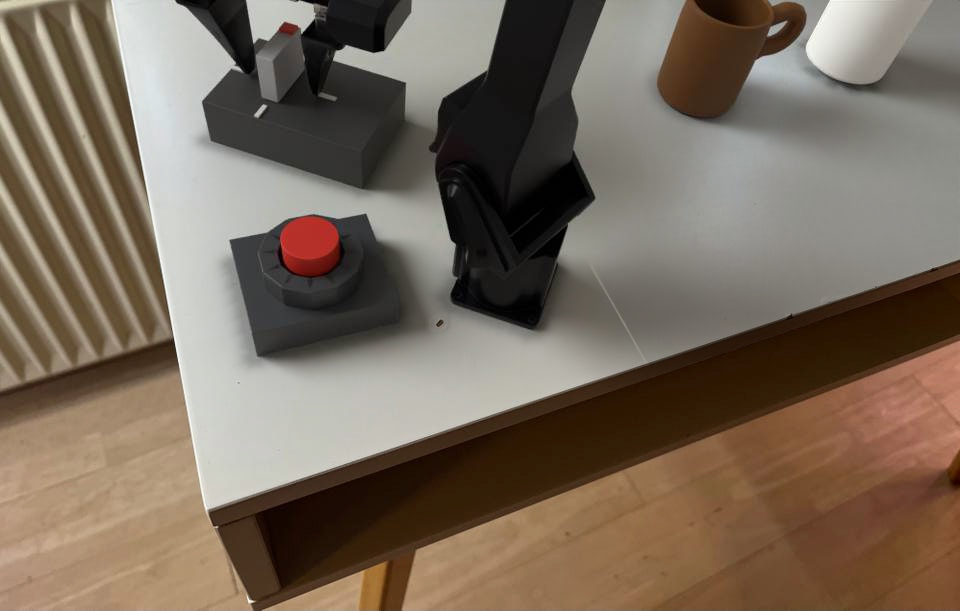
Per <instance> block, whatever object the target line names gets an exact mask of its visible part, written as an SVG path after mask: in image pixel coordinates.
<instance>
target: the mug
mask: <svg viewBox="0 0 960 611" xmlns="http://www.w3.org/2000/svg"><path fill="white" fill-rule="evenodd" d="M807 18H808V13H807V11H806V9H805V6H804V5H802V4H800V3H798V2H795V1H782V2H779V3H777V4H774V5H772V4H771V2H770V1H769V0H685V2H684V3H683V6H682V8H681V11H680V12H679V15H678V19H677V22H676V24H675V27H674V30H673V32H672V35H671V38H670V40H669V43H668V46H667V49H666V52H665V54H664V58H663V60H662V63H661V65H660V68H659V72H658V74H657V79H656V80H657V81H656V85H657V90H658V93H659V95H660V96H661V98H662V99H663V100H664V101H665V102H666V104H668V105H669V106H671V107H672V108H673V109H675V110H676V111H679V112H680V113H683V114H685V115H688V116H691V117H696V118H714V117H719V116H721V115H723V114H726V113H727V112H728V111H729V110H730V109H731V108H732V107H733V105H735V103H736V102H737V99H738V97H739V95H740V93H741V91H742V89H743V87H744V85H745V83H746V81H747V79H748V77H749V75H750V73H751V71H752V69H753V67H754V64H755V63H756V61H757V60H759V59H761V58H762V57H767V56H771V55H772V56H773V55H776V54H778V53H781V52H782V51H784V50H786V49H787V48H788V47H790V46H791V45H792V44H793V43H794V42H796V40H797V39H798V38H800V36H801V34H802V33H803V31H804V29H805V27H806V25H807V21H808V20H807ZM782 23H784V25H783V26H782V27H781V28H780V29H779V30H778V31H777V32H775V33H774V34H771V35H769V32H770V29H771V28H773V27H774V26H777V25H779V24H782Z"/></svg>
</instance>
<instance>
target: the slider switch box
mask: <svg viewBox="0 0 960 611" xmlns="http://www.w3.org/2000/svg"><path fill="white" fill-rule="evenodd" d="M268 41H269V40H267V39H264V38H261V37H259V38H257V39H256V41H255V42H253V44H254V50H255V69H254V70H253V72H252V73H251V74H250V75H247V74H245V73H244V72H243V71H242V70H241V69H240V68H239V66H238V65H237V64H236V63H234V64H233V65H232V66H231V68H230V70H228V71H227V72H226V73H225V75H224V76H223V77H222V78H221V79H220V80H219V81H218V82H217V84H216V85H215V86H214V87H213V88H212V89H211V91H209V93H207V95H206V96H205V97H204V98H203V99H202V100H201V104H202V109H203V113H204V117H205V122H206V126H207V127H206V128H207V131H208V135H209V139H210V141H211V142H213V143H215V144H219V145H222V146H225V147H229V148H231V149H234V150H236V151H241V152H244V153H247V154H251V155H254V156H256V157H260V158H263V159H266V160H270V161H272V162H276V163H278V164H281V165H285V166H287V167H288V166H289V167H290V168H294V169H297V170H300V171H303V172H306V173H310V174H313V175H316V176H319V177H323V178H326V179H329V180H331V181H335V182H338V183H342V184H344V185H348V186H351V187H354V188H357V189H360V190H363V189H364V188H365V186H366V185H367V183H368V182H369V180H370V178H371V176H372V175H373V174H374V172H375V170H376V168H377V167H378V165H379V163H380V162H381V160H382V158H383V157H384V155H385V154H386V152H387V151H388V149H389V147H390V146H391V144H392V142H393V141H394V139H395V137H397V134H398V133H399V131H400V130H401V128H402V126H403V124H404V123H405V121H406V120H405V119H406V100H407V99H406V98H407V97H406V96H407V95H406V94H407V82H406V81H402V80H400V79H396V78H392V77H389V76H386V75H382V74H379V73H376V72H373V71H369V70H367V69H363V68H360V67H356V66H353V65H349V64H346V63H343V62H340V61H338V60H337V61H336V60H333V61H332V64H331V67H330V70H329V73H328V76H327V78H326V81H325V84H324V87H323V89H322V91H321V92H320V93H319V95H318V96H317V95H313V93H312V91H311V88H310V85H309V82H308V77H307V71H306V65H305V60H304V68H305V69H304V71H303V72H302V73H301V75H300V76H299V77H298V78H297V80H296V81H295V82H294V83H293V85H292V86H291V87H290V89H289V90H288V91H287V92H286V94H285V95H284V96H283V97H282V99H281V100H280V101H279V102H278V103H277V102H274V101H271V100H268V99H264V98H262V95H261V88H260V81H259V75H258V68H257V61H256V55H257V54H258V52H259V51H260V50H261V49H262V48H263V47H264V46H265V44H266V43H267V42H268ZM303 57H304V54H303Z"/></svg>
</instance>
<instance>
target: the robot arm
mask: <svg viewBox="0 0 960 611" xmlns="http://www.w3.org/2000/svg"><path fill="white" fill-rule="evenodd" d="M174 1H175V3H176V4H177V5H179V6H182V7H184V8H186V9H187V10H188V11H189V12H190V14H191V15H193V16H194V18H195V19H197V21H199V23H200V24H201V25H202V26H203V27H204V28H205V29H206V30H207V31H208V32H209V33H210V34H211V35H212V37H213V38H214V39H215V40H216V41H217V43H218V44H220V46H221V47H222V49H223V50H224V51H225V53H227V54H228V56H229V57H230V58H231V60H232V61H234V64H237V65H238V66H239V68H240V69H241V70H242V71H243V72H244V73H245V74H247V75H250V74H251V73H252V72H253V70H254V69H255V50H254V39H253V32H252V27H251V26H252V25H251V21H250V14H249V9H248V8H249V7H248V2H247V0H174ZM288 1H289V2H294V3H297V2H302V3H307V4H310V5H312V6H313V13H314V18H313V20H312V21H311V22H310V23H309V24H308V25H307V27H306V28H305V29H304V31H302V32H301V35H300V38H301V44H302V49H303V54H304V60H305V65H306V71H307V77H308V82H309V85H310V88H311V91H312V93H313V95H317V96H318V95H319V93H320V92H321V91H322V89H323V87H324V84H325V81H326V78H327V76H328V73H329V70H330V67H331V64H332V61H334V58H335V56H336V53H337V52H338V51H342V50H343V49H345V47H351V48H355V49H357V50H362V51H365V52H368V53H371V54H376V53H381V52H385V51H386V50H387V49H388V47H389V45H391V42H392V41H393V40H394V39H395V37H396V35H397V34H398V33H399V31H400V29H401V28H402V27H403V25H404V23H406V21H407V19H408V18H409V16H410V15H411V13H412V9H413V8H412V5H413V0H288ZM606 2H607V0H504V5H503V9H502V12H501V16H500V20H499V25H498V28H497V32H496V36H495V39H494V44H493V48H492V51H491V55H490V60H489V63H488V66H487V70H485V71H483V72H482V73H480V74H479V75H477V76H475V77H473V78H472V79H470V80H469V81H468V82H466V83H464V84H463V85H461V86H460V87H457V89H455V90H453V91H452V92H450V93H448V94H447V95H445V96H444V97H442V99H441V102H440V104H439V107H438V110H437V127H436V134H435V137H434V140H433V142H431V144H430V145H428V147H427V148H428V151H429V152H430V153H433V154H436V156H435V159H434V176H435V181H436V182H437V184H438V190H439V195H440V196H439V197H440V199H441V204H442V209H443V214H444V217H445V218H444V219H445V223H446V227H447V232H448V235H449V239H450V241H451V243H453V244H455V247H454V255H453V260H452V268H451V274H452V276H453V277H454V278H456V280H455V283H454V285H453V287H452V289H451V290H450V294H449V301H450V302H451V303H452V304H454V305H456V306H458V307H462V308H464V309H469V310H471V311H474V312H478V313H479V314H480V313H481V314H483V315H487V316H489V317H492V318H496V319H498V320H501V321H505V322H508V323H510V324H513V325H517V326H520V327H522V328H524V329H525V328H526V329H528V330H535V329H537V328H538V326H539V323H540V321H541V317H542V316H543V312H544V308H545V306H546V303H547V300H548V297H549V294H550V292H551V288H552V285H553V282H554V279H555V276H556V273H557V271H558V268H559V262H558V261H559V257H560V254H561V250H562V247H563V244H564V242H565V238H566V235H567V232H568V228H569V224H570V223H571V222H572V221H573V220H574V219H576V217H579V216H580V215H581V214H582V213H584V212H585V210H586V209H588V208H589V207H590V206H591V205H592V204H593V203H594V202H595V200H596V194H595V191H594V190H593V188H592V186H591V184H590V182H589V179H588V178H587V175H586V173H585V170H584V169H583V167H582V165H581V162H580V160H579V159H578V156H577V154H576V152H575V149H574V148H575V142H576V137H577V132H578V127H579V116H578V113H577V109H576V105H575V101H574V98H573V95H572V94H573V87H574V84H575V82H576V79H577V77H578V74H579V71H580V69H581V66H582V63H583V61H584V58H585V56H586V53H587V51H588V48H589V46H590V43H591V40H592V38H593V35H594V33H595V30H596V28H597V25H598V23H599V20H600V17H601V15H602V12H603V9H604V7H605V5H606ZM457 297H458V298H457ZM530 321H532V322H530Z"/></svg>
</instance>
